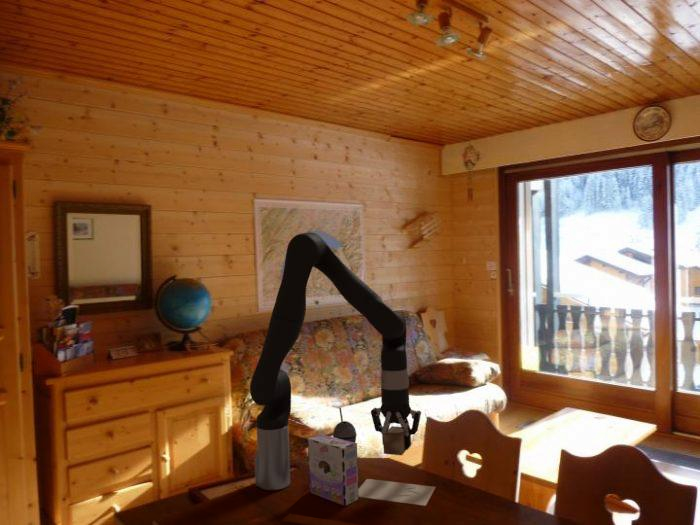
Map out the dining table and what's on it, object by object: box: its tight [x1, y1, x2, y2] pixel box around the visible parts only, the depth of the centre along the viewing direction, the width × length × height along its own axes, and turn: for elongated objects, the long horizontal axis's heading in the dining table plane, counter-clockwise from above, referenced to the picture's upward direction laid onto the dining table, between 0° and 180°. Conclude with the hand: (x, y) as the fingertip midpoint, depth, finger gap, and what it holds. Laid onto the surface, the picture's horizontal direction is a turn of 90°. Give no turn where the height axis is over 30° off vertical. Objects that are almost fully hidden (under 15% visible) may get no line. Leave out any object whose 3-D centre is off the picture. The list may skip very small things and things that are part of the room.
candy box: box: [306, 433, 360, 507], centre depth 148 cm, size 14×6×16 cm, turn 47°
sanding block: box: [382, 425, 407, 456], centre depth 149 cm, size 5×8×5 cm, turn 159°
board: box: [358, 478, 436, 507], centre depth 149 cm, size 20×12×2 cm, turn 69°
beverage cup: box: [332, 407, 358, 443], centre depth 167 cm, size 7×7×20 cm
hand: (396, 447), depth 149 cm, fingers closed on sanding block, 5 cm apart
